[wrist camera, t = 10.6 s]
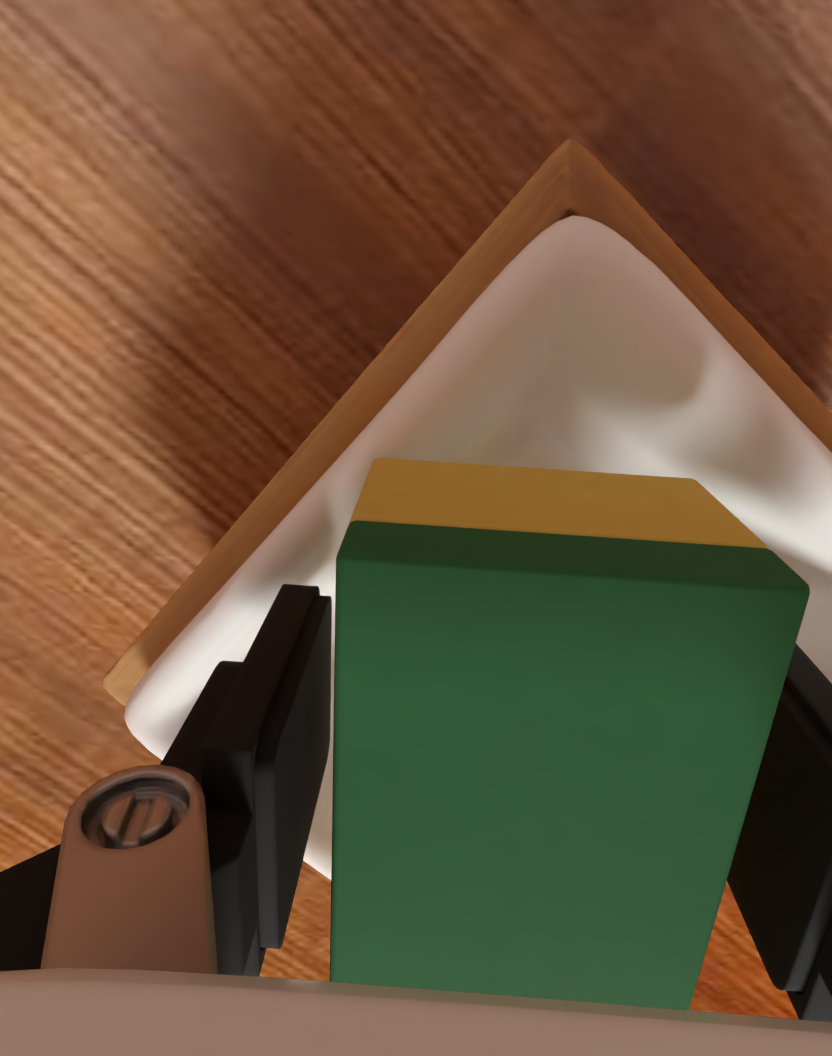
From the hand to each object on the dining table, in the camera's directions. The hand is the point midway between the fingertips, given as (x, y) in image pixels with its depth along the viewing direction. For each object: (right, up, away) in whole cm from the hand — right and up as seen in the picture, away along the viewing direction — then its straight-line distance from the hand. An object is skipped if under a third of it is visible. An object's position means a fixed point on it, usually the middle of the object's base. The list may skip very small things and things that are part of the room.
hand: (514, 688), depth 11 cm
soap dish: (0, +2, +5) cm, 6 cm away
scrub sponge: (0, 0, 0) cm, 0 cm away
